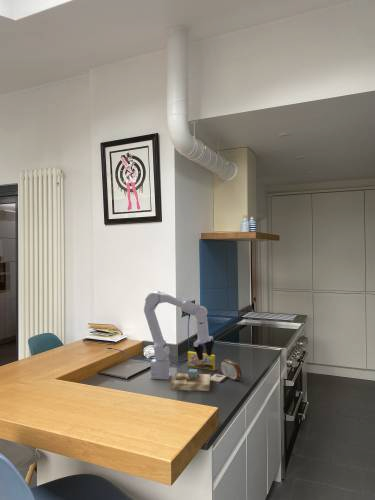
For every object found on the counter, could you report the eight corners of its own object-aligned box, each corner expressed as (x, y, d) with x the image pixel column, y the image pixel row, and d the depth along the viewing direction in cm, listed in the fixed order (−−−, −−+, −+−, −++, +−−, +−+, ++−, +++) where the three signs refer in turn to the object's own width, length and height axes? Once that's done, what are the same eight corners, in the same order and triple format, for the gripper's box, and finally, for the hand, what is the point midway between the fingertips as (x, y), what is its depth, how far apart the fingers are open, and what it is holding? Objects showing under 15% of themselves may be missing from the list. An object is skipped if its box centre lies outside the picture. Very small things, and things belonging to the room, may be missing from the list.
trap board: (170, 389, 175) (170, 380, 175) (175, 379, 189) (175, 370, 189) (209, 390, 173) (209, 381, 173) (210, 380, 187) (210, 371, 187)
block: (188, 380, 179) (188, 371, 179) (189, 377, 183) (189, 369, 183) (196, 380, 179) (196, 371, 179) (197, 377, 183) (197, 369, 183)
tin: (242, 381, 185) (242, 364, 185) (237, 382, 184) (236, 365, 184) (224, 372, 198) (224, 357, 198) (219, 373, 197) (219, 358, 197)
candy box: (187, 366, 209) (187, 351, 209) (189, 365, 211) (189, 350, 211) (213, 370, 202) (213, 355, 202) (215, 369, 204) (215, 354, 204)
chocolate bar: (235, 371, 199) (221, 381, 184) (235, 373, 199) (221, 383, 183) (219, 368, 204) (205, 378, 188) (219, 370, 204) (205, 380, 188)
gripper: (200, 334, 180) (203, 362, 180) (217, 328, 192) (219, 354, 192) (189, 333, 184) (191, 360, 184) (205, 327, 196) (208, 353, 196)
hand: (205, 357), depth 188 cm, fingers open, 7 cm apart
